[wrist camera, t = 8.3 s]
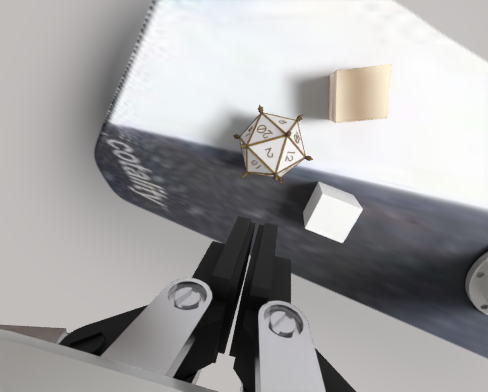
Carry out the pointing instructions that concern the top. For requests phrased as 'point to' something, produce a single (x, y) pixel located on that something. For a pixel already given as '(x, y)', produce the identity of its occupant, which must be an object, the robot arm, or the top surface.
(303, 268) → the top surface
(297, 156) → the game die
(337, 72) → the ash block
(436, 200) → the top surface
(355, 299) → the top surface
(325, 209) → the white block
